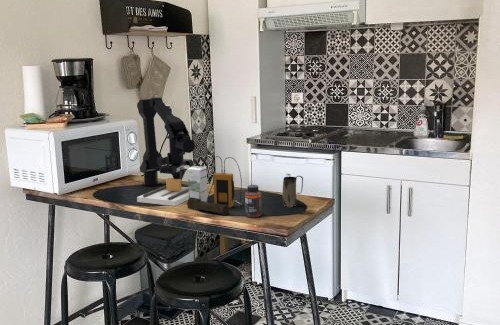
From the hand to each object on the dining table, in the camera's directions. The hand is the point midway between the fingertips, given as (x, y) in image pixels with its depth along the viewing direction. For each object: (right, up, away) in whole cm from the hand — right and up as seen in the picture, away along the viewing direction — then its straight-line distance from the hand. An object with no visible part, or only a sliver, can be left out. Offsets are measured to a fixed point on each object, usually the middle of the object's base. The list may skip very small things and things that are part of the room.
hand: (177, 185), depth 219 cm
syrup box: (+10, -6, -13) cm, 18 cm away
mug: (+48, -7, -20) cm, 52 cm away
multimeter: (+22, -7, -16) cm, 28 cm away
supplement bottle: (+32, -10, -32) cm, 47 cm away
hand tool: (+14, -9, -26) cm, 31 cm away
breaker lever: (-1, -2, -3) cm, 3 cm away
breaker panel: (-2, -5, -5) cm, 7 cm away
